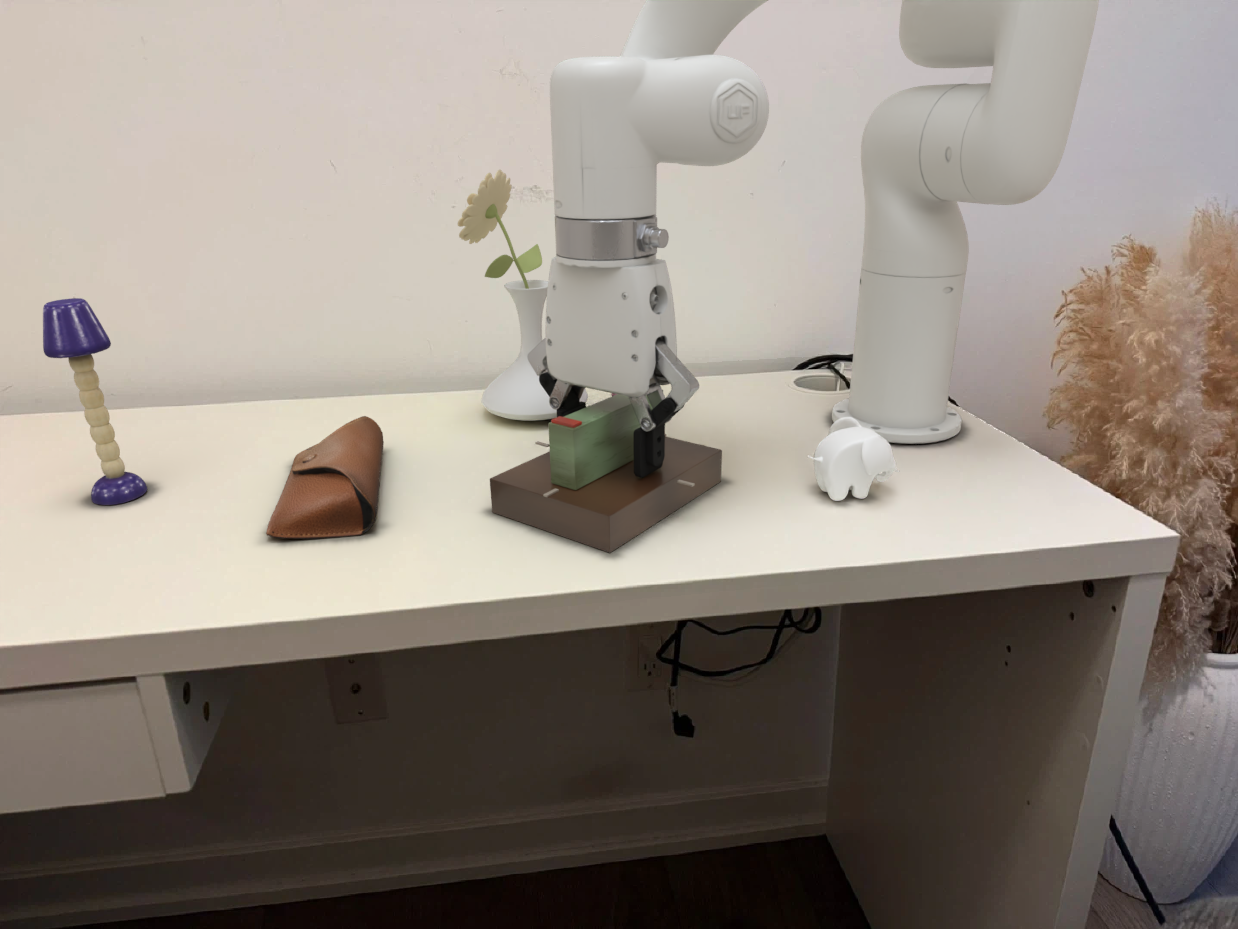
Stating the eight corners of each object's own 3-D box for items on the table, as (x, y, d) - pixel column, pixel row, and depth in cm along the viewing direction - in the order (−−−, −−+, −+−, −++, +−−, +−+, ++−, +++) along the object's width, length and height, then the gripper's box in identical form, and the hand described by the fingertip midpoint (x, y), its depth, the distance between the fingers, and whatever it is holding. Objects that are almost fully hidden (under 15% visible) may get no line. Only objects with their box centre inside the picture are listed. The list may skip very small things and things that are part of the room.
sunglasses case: (290, 453, 80) (319, 392, 78) (362, 482, 82) (391, 423, 81) (262, 539, 64) (298, 464, 62) (352, 572, 66) (388, 500, 65)
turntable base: (594, 447, 82) (593, 416, 81) (743, 486, 73) (744, 452, 72) (472, 506, 70) (469, 471, 69) (632, 561, 61) (632, 522, 60)
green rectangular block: (639, 438, 75) (639, 381, 73) (663, 444, 74) (663, 386, 72) (550, 483, 66) (547, 419, 64) (575, 490, 65) (573, 426, 63)
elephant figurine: (913, 505, 69) (922, 436, 67) (821, 515, 67) (827, 444, 65) (873, 473, 75) (881, 409, 73) (788, 482, 74) (793, 416, 71)
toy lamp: (76, 508, 70) (19, 308, 64) (96, 486, 75) (45, 296, 68) (139, 502, 71) (89, 304, 65) (155, 481, 76) (110, 293, 69)
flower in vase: (540, 390, 99) (529, 163, 90) (610, 411, 92) (605, 166, 82) (448, 417, 91) (424, 169, 81) (516, 443, 83) (499, 173, 74)
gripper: (733, 243, 61) (724, 470, 68) (550, 228, 71) (558, 428, 78) (676, 256, 56) (673, 502, 62) (486, 238, 65) (501, 453, 72)
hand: (609, 459), depth 70 cm, fingers open, 7 cm apart
